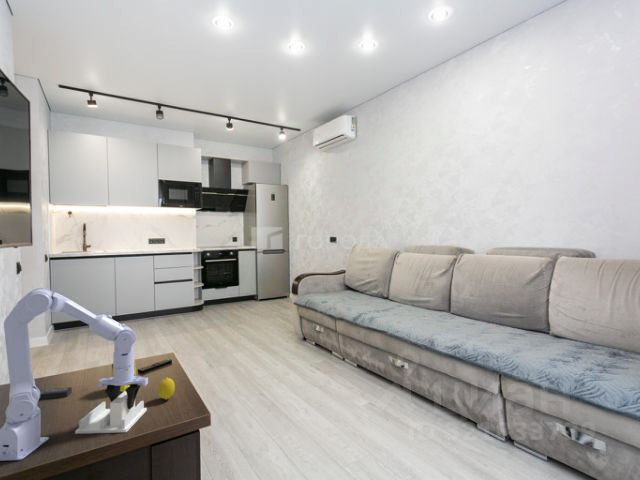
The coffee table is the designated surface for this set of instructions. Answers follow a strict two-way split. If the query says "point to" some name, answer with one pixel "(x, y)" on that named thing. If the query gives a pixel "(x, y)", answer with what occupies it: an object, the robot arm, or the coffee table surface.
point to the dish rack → (108, 420)
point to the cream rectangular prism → (119, 409)
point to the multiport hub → (55, 393)
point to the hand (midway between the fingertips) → (123, 407)
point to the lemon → (166, 388)
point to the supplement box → (124, 387)
